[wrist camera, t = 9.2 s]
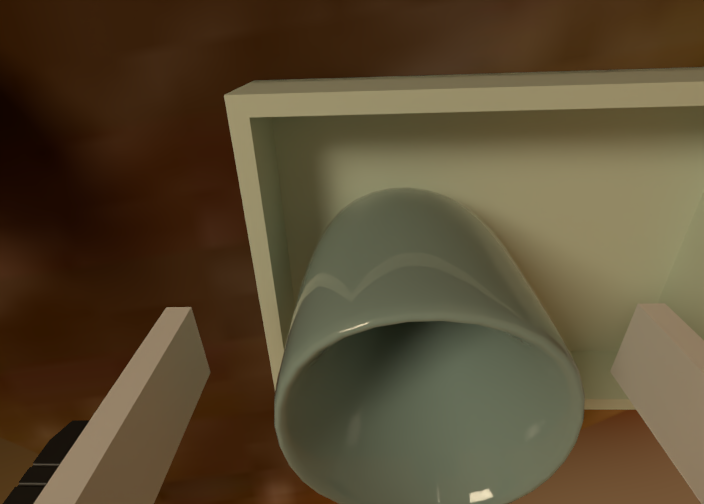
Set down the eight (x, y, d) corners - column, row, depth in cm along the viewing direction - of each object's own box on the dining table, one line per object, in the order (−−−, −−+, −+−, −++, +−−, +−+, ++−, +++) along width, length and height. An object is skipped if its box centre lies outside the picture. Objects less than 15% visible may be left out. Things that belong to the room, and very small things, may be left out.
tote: (254, 80, 16) (223, 95, 13) (755, 65, 15) (869, 76, 12) (291, 351, 23) (278, 408, 20) (638, 350, 22) (688, 409, 19)
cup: (499, 165, 17) (642, 317, 8) (469, 314, 21) (544, 527, 12) (312, 159, 17) (253, 303, 8) (316, 308, 21) (279, 514, 12)
